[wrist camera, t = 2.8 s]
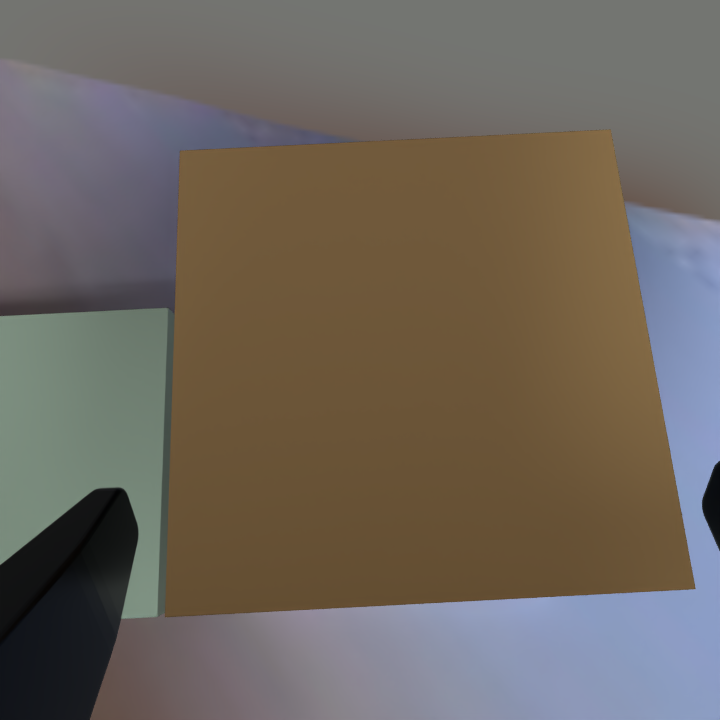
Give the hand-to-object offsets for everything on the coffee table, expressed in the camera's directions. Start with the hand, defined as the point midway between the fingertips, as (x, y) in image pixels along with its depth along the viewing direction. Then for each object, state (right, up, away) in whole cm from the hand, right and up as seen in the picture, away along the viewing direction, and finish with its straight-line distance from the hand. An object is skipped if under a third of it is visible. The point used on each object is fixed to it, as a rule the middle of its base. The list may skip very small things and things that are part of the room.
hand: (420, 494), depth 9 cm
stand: (-11, -1, +9) cm, 14 cm away
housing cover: (0, +2, 0) cm, 2 cm away
